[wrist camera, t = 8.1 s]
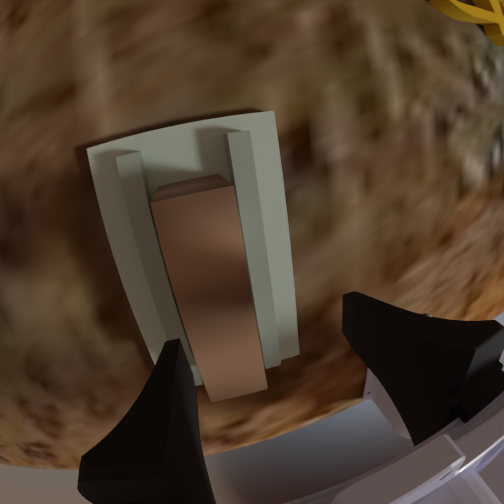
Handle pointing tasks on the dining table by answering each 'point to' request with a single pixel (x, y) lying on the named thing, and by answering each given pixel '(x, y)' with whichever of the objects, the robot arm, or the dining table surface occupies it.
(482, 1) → the decorative art
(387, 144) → the dining table surface
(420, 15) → the dining table surface
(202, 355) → the brown box
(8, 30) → the dining table surface
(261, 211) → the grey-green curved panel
